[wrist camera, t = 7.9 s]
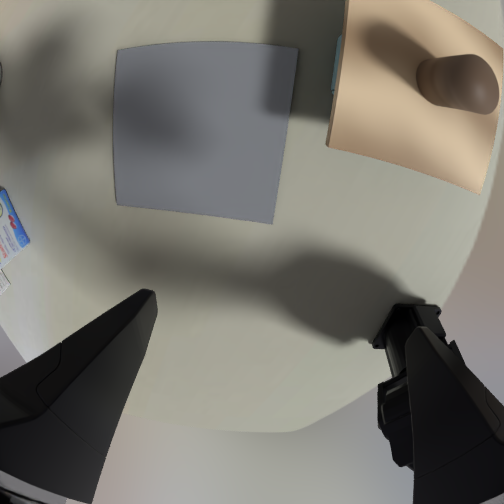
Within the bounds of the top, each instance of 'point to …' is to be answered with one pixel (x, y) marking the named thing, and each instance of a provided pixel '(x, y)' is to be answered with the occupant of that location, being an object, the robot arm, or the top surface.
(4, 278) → the supplement box
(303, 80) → the top surface
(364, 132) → the lid
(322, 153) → the top surface
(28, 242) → the medicine box
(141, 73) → the mat
